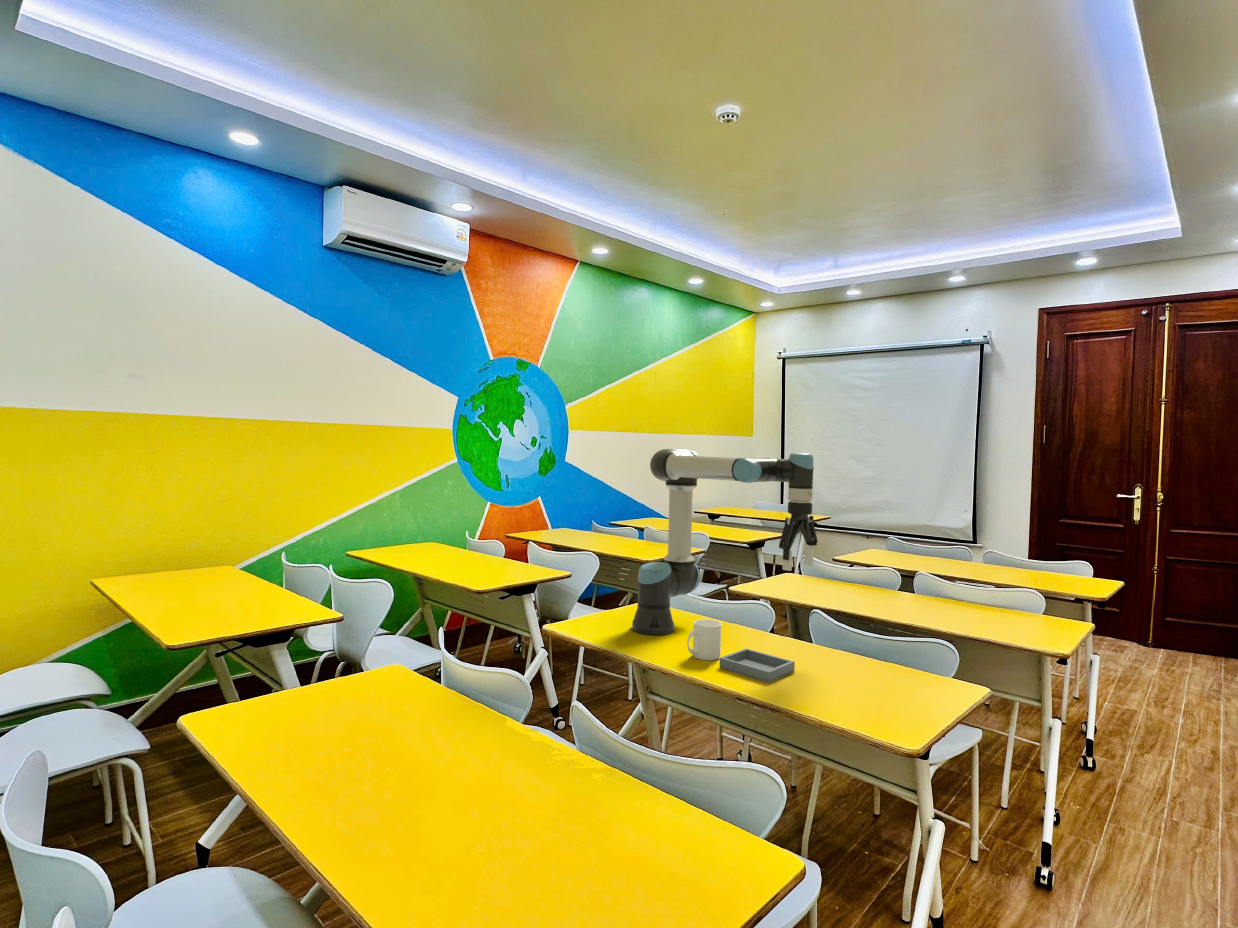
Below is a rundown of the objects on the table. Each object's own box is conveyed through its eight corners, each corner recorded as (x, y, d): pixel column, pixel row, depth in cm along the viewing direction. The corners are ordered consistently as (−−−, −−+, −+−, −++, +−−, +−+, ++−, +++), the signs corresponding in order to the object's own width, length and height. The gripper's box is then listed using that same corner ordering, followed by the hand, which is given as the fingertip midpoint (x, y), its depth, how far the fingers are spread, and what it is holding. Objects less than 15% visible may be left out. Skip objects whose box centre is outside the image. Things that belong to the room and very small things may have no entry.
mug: (678, 656, 211) (679, 622, 210) (708, 650, 217) (709, 618, 216) (695, 664, 203) (696, 629, 203) (725, 658, 209) (726, 624, 209)
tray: (719, 667, 200) (719, 657, 200) (745, 657, 210) (746, 648, 210) (769, 682, 189) (769, 672, 188) (794, 671, 199) (794, 661, 199)
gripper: (790, 504, 202) (788, 574, 203) (829, 500, 220) (827, 564, 221) (768, 502, 208) (766, 570, 208) (808, 499, 225) (806, 561, 226)
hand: (797, 567), depth 215 cm, fingers open, 13 cm apart
